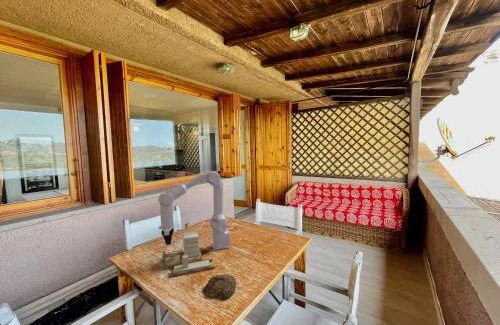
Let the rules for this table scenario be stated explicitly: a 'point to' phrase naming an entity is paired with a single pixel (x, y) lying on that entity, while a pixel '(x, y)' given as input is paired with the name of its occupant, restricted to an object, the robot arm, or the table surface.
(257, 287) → the table surface
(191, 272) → the lane frame
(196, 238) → the supplement box
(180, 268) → the strip
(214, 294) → the bread roll
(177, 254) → the wooden tray
